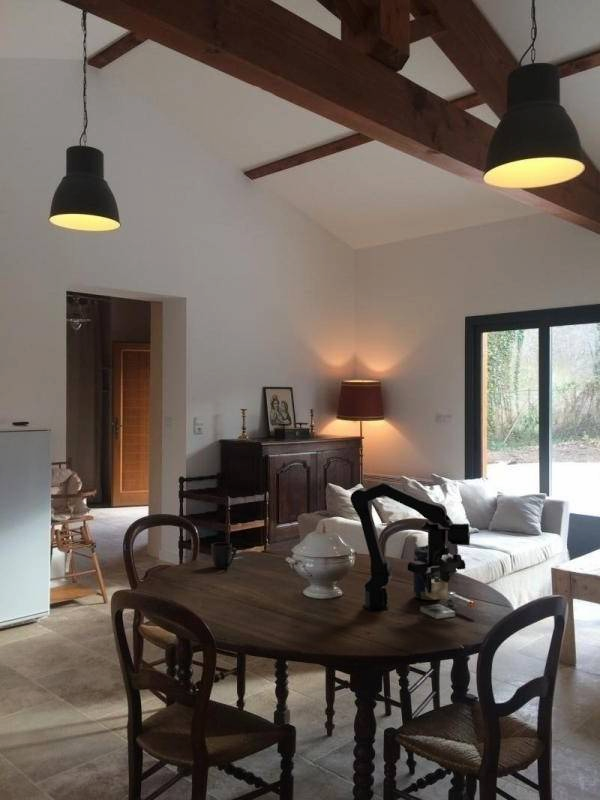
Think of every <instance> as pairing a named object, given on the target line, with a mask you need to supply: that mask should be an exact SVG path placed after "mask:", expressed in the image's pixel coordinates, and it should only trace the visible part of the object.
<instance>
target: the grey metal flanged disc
mask: <svg viewBox="0 0 600 800" xmlns="http://www.w3.org/2000/svg"><path fill="white" fill-rule="evenodd" d="M455 603H456V602H455V601H453V600H447V599H446V604H444V607H446V608H448V609H450V610H457V609H458V605H457V604H455Z"/></svg>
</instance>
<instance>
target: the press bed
mask: <svg viewBox="0 0 600 800" xmlns="http://www.w3.org/2000/svg"><path fill="white" fill-rule="evenodd" d="M420 612H422V613H423V614H426V615H427V616H429V617H432V618H434V619H435V620H438V619H439V620H440V619H446V618H453V617H456V611H455V610H454V609H448V608H446V607H445V605H442V604H438V603H436V604H430V605H422V606H420Z"/></svg>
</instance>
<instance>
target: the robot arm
mask: <svg viewBox="0 0 600 800" xmlns="http://www.w3.org/2000/svg"><path fill="white" fill-rule="evenodd" d="M380 497H386V498H388V499H391V500H393V501H395V502H397V503H400V504H401V505H403V506H405V507H407V508H409V509H412V510H414V511H416V512H418V513H419V515H421V516H422V517H423V518H424V519H426V520H427V521H425V523H424V524H423V525H422V527H421V529H422V530H427V545H424V546H425V549H428V558H425V561H426V562H428V563H423V562H421V561H414V560H413V561H410V560H409V562H408V563H407V571H409V572H412V573H413V574H414V573H416V574H420V576H421V578H422V580H423V582H424V584H425V587H426V589H427V591H428V593H431V577H432V576H433V573H431V569H434V568H440V578H441V580H443V581H445V582H448V583H449V581H450V579H451V577H452V575H454V574H455V573H457V572H458V570H459V571H460V570H465V569H466V562H465V560H464V559H462V555H461V554H459V553H455V554H450V550H449V547H447V541H448V542H449V543H450V545H452V546H453V545H454V546H470V543H471V540H470V539H471V532H470V524H469V523H454V522H453V521H452V519H451V518H450V517H449V515H448V511H447V508H446V506H444V504H442V503H439V502H435V501H432V500H428V499H427V500H426V499H422V498H419V497H418V496H416V495H413V494H411V493H409V492H406V491H405V490H403V489H401V488H398V487H396V486H394V485H391V484H390V483H389V482H382V483H380V484H377V485H375V486H372V487H370V488H365V487H361V488H357V489H356V490H354V491H352V493H351V495H350V502H351V505H352V507H353V510H354V511H355V513H356V514H357V516H358V517H359V520H360V524H361V527H362V532H363V535H364V538H365V539H364V540H365V543H366V547H367V551H368V553H369V558H370V578H369V579H368V580H367V582H366V583H365V584H364V585H363V586H364V590H365V591H364V594H365V595H364V599H365V600H364V603H363V604H362V606H363V607H364V608H366V609H368V610H369V611H371V612H373V611H381V610H382V611H383V610H389V609H390V608H389V607H390V606H388V593H387V589H386V586H387V585H388V584H389V582H390V581H391V579H392V577H393V572H394V569H393V567H392V563H391V559H390V558H389V559H386V558H385V557H384V555H383V554H384V553H383V551H382V548H381V544H380V539H379V536H378V535H379V534H378V532H377V528H376V525H375V520H374V516H373V500H376V499H377V498H380ZM446 540H447V541H446ZM432 565H435V566H432Z"/></svg>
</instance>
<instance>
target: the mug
mask: <svg viewBox="0 0 600 800" xmlns="http://www.w3.org/2000/svg"><path fill="white" fill-rule="evenodd" d="M210 551H211V557H212V559H211V560H212V563H213V567H214V568H215V569H216V568H226V569H228V568H229V567H231V565H232V564H233V562H234V559H235V557H236V555H237V549H236V548H235V547H233V545H232V542H224V541H223V542H222V541H221V542H214V543H211V550H210Z"/></svg>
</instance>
